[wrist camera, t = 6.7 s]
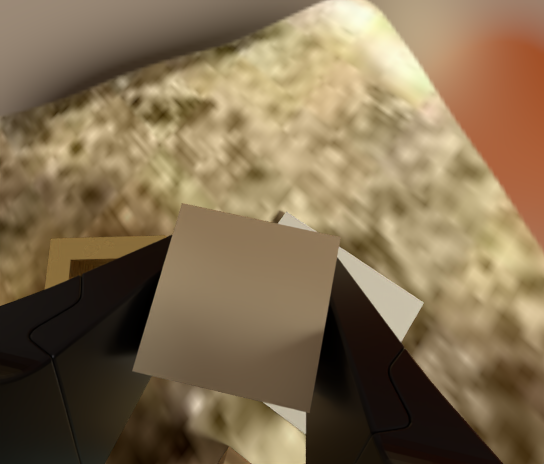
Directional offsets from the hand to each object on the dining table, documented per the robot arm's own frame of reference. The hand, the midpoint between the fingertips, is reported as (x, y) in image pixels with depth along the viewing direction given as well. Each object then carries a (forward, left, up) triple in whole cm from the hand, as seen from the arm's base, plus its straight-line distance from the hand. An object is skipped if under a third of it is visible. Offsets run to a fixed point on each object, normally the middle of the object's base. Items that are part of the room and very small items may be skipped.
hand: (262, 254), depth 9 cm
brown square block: (-1, -1, -7) cm, 7 cm away
